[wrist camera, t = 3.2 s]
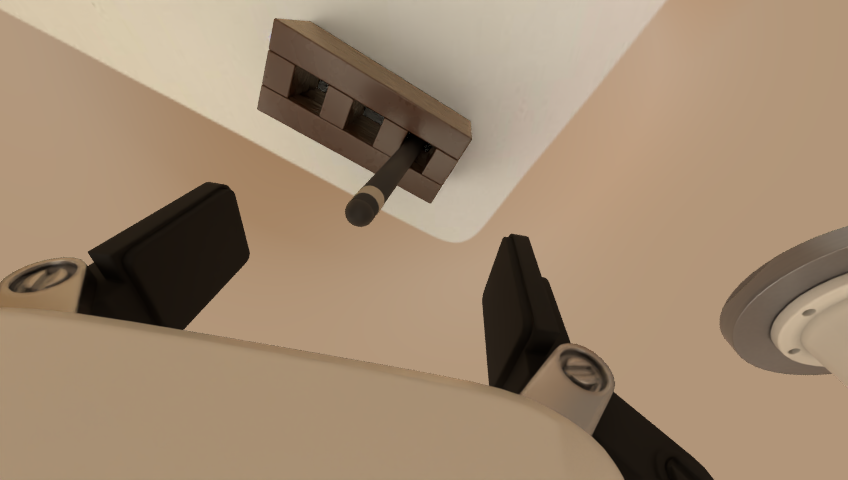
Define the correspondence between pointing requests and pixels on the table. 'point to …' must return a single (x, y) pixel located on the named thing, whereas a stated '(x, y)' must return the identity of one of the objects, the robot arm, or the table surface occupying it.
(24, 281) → the robot arm
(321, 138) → the pen stand
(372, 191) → the stylus
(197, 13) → the table surface
